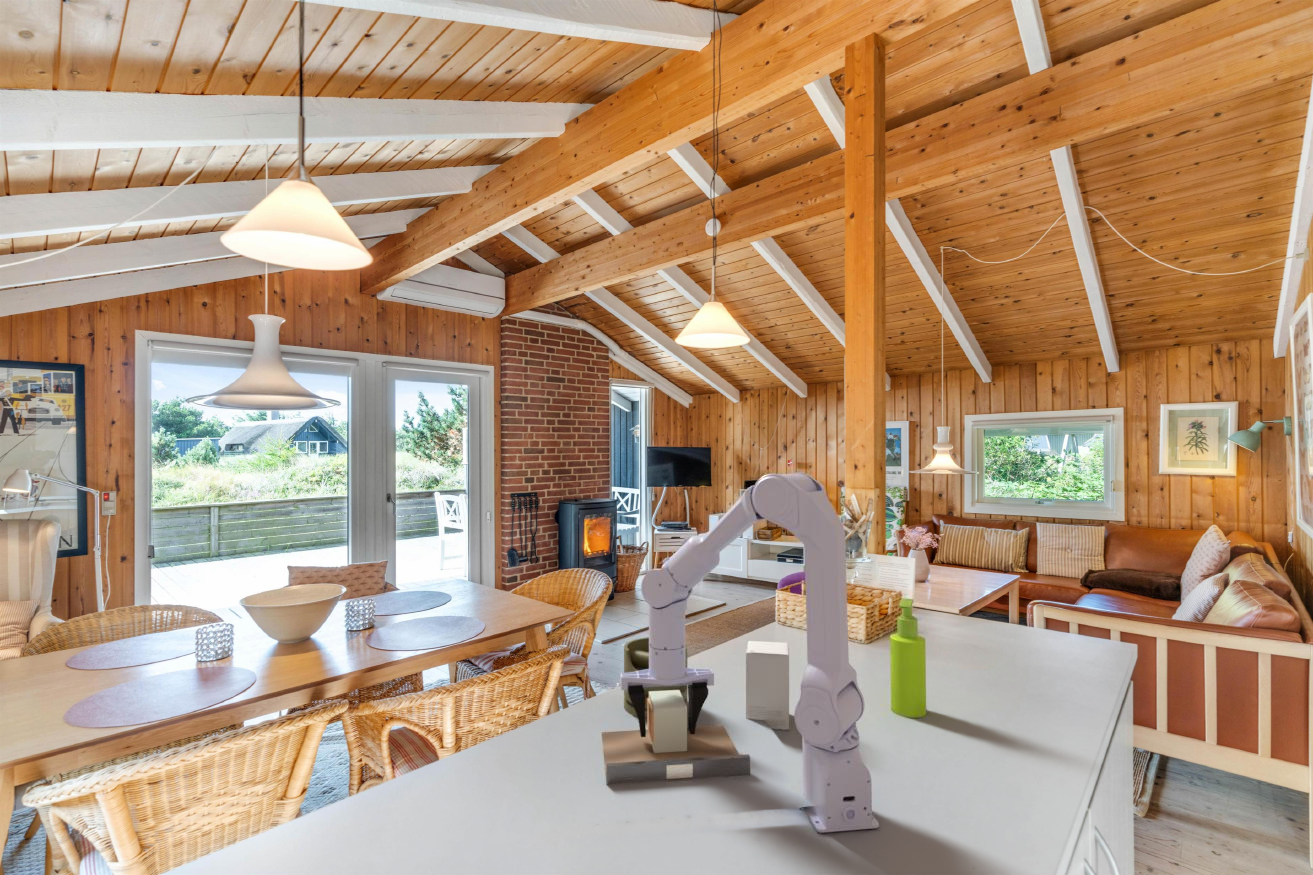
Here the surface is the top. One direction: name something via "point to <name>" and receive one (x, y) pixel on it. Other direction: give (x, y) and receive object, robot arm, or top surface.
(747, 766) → the rail
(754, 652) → the supplement box
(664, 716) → the carton
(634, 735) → the shelf board
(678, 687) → the piston
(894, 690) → the soap dispenser
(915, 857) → the top surface
